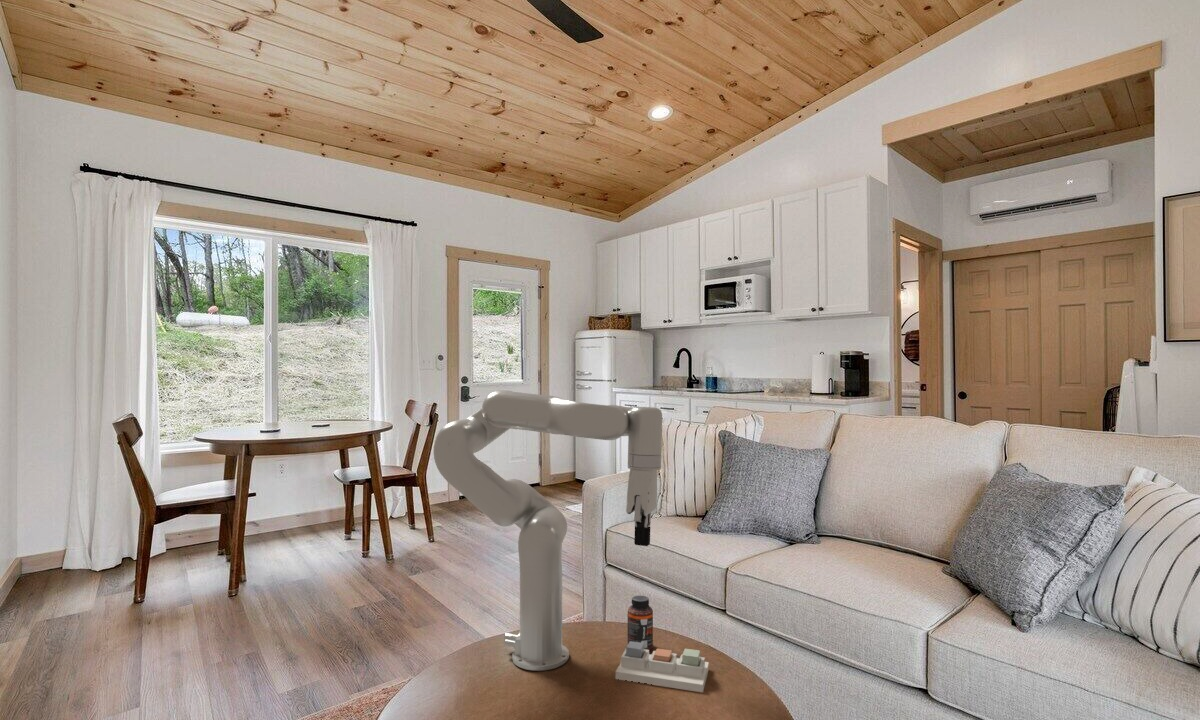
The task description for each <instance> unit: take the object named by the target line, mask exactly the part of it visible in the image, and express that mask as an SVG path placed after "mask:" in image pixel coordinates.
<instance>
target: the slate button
mask: <svg viewBox="0 0 1200 720" xmlns="http://www.w3.org/2000/svg"><path fill="white" fill-rule="evenodd" d="M625 649H626V656H628V657H635V658H642V657H643V655H644V643H640V642H632V641H630V642H629V643H628V642H627V645H626V646H625Z"/></svg>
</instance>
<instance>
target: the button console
mask: <svg viewBox="0 0 1200 720" xmlns="http://www.w3.org/2000/svg"><path fill="white" fill-rule="evenodd" d="M655 651H656V650H653V651H652V653H651V654H650V650H646V649H644V655H643V657H642V658H635V657H628V656H626V648H625V649H624V651H623V653H622V655H621V656H620V663H619V665H618V666H617V668H616V670H615V678H614V679H615V680H618V679H619V681H625V680H627V681H626V682H631V681H633V682H632V683H638V682H640V683H639V684H644V683H647V684H646V685H651V684H652V685H653V686H657V687H663V688H664V687H665V688H669V689H670V688H672V689H675V690H677V689H678V690H685V691H691V692H695V693H704V690H705V687H706V683H707V682H706V681H707V678H708V674H709V670H710V667H709V666H710V665H709V664H710V663H709V661H706V657H705V656H704V657H702V656H700V664H699V666H692V665H685V664H682V655H683V653H682V654H681V655H680V656H679V657H677V653H675V652H672V659H671V662H663V661H656V660H654V654H655Z"/></svg>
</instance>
